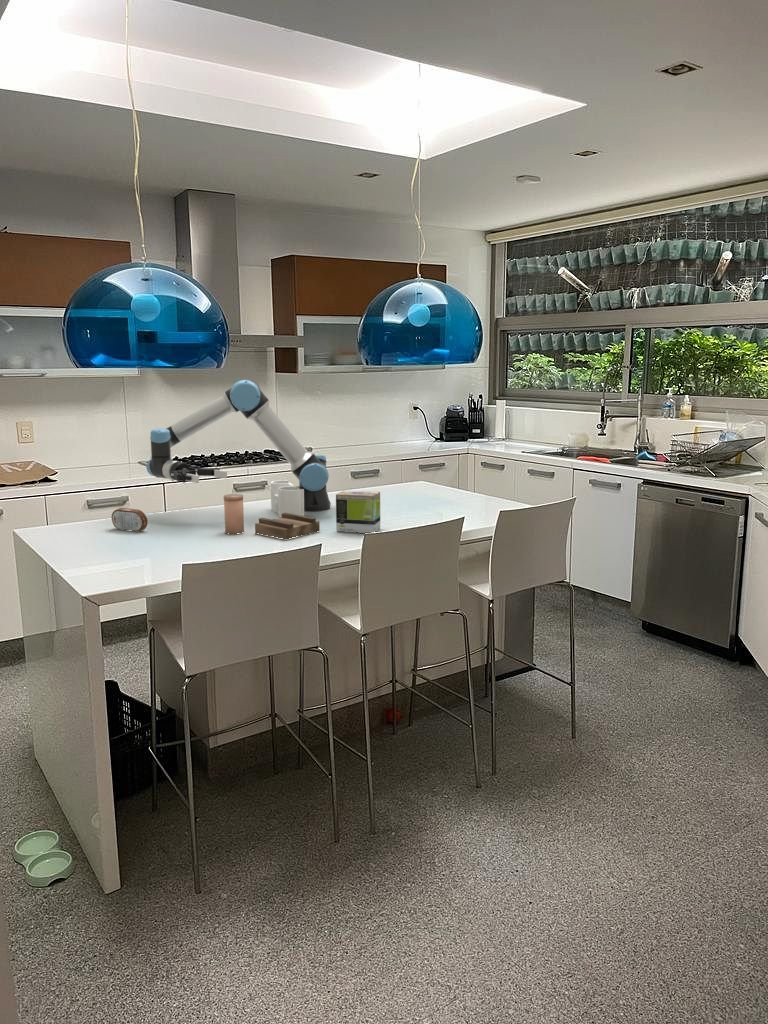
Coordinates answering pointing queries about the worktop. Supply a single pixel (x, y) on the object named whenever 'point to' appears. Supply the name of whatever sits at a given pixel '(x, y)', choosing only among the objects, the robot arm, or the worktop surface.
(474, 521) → the worktop surface
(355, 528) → the tea box
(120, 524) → the tin
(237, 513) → the terracotta canister
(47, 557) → the worktop surface
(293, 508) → the bracket
